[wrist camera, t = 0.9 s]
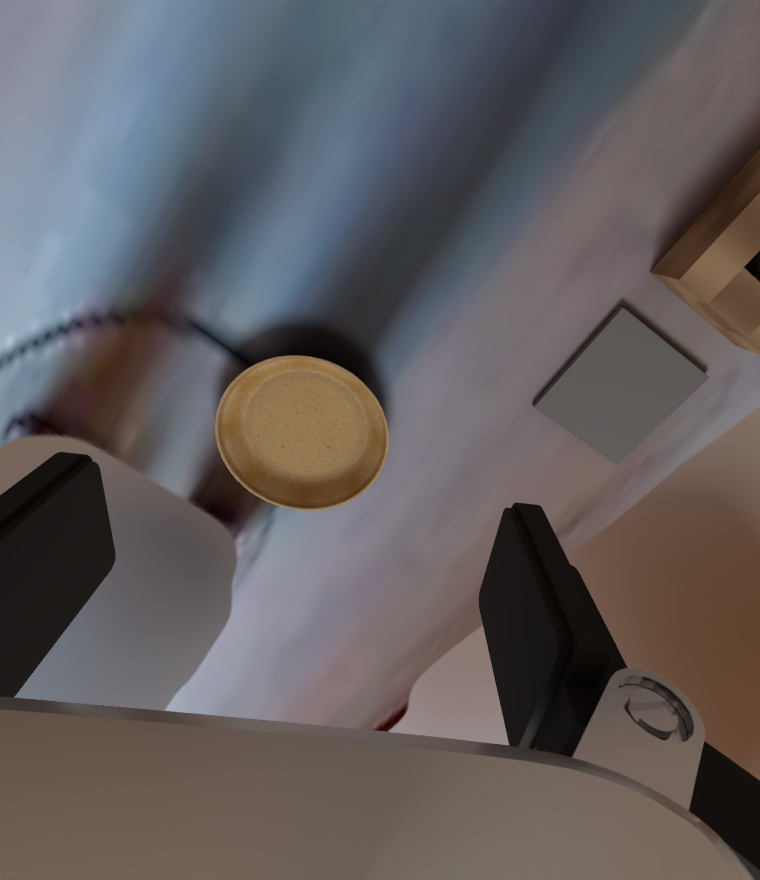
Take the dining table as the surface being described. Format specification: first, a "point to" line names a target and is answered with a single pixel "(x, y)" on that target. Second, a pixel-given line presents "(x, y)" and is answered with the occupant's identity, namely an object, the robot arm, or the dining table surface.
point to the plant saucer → (302, 433)
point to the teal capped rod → (754, 266)
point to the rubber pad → (620, 387)
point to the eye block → (722, 260)
